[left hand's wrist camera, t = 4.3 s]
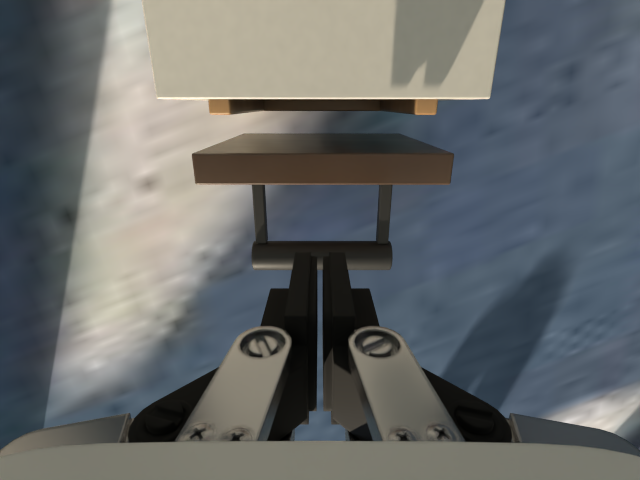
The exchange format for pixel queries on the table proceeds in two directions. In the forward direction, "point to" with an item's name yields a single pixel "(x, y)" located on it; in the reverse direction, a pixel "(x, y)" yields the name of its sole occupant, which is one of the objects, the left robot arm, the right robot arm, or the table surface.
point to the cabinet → (323, 48)
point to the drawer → (322, 171)
